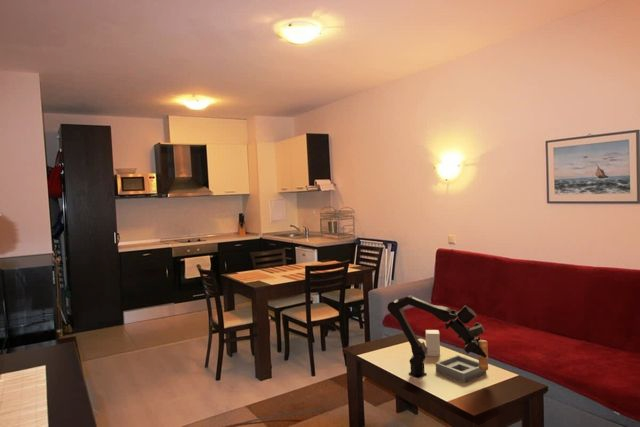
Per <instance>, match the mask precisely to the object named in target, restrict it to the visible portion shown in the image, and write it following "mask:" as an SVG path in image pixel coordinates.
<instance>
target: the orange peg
mask: <svg viewBox="0 0 640 427" xmlns="http://www.w3.org/2000/svg"><path fill="white" fill-rule="evenodd" d="M478 342H479V345H480V347H481V349H482V350H483V351H484V353H485V354H486V355H487V357H482V356H480V355H478V362H479V369H480V370H486V371H488V370H489V350H488V345H489V344H488V341H487V340H484V339H481V340H479V341H478Z"/></svg>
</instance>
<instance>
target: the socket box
mask: <svg viewBox="0 0 640 427" xmlns="http://www.w3.org/2000/svg"><path fill="white" fill-rule="evenodd" d="M435 372H436V373H438V374H440V375H443V376H446V377H447V378H450V379H453V380H455V381H458V382H460V383H463V384H466V383H468V382H469V381H472V380H474V379H477V378H479V377H481V376H484V375H486V374H487V370H480V369H479V361H476V360H474V359H472V358H471V359H470V358H468V357H465V356H462V355H459V354H456V355H454V356H452V357H449V358H447V359H446V358H445V359H443V360H440V361H438V362H437V361H436V362H435Z"/></svg>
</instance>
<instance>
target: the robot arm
mask: <svg viewBox="0 0 640 427" xmlns="http://www.w3.org/2000/svg"><path fill="white" fill-rule="evenodd" d="M407 306H411V307H414V308H417V309H420V310H422V311H423V312H426V313H429V314H431V315H433V317H435V318H436V319H438V320H439V321H441V322H443V323H445V324H444V325H445V330H448V329H449V328H450V329H451V330H452V331H453V332H454V333H455V334H456V335H457V338H458V339H461V340H462V341H463V342H464V345H465V346H464V351H465V353H467V354H469V353H472V354H476V355H478V356H479V355H480V356H482V357H487V355H486V354H485V353H484V351H483V350H482V349H481V347H480V345H479V342H478V341H479V340H482V338H481V336H480V335H483V334H485V328H484V325H483V324H481V323H480V322H475V323H474V326H472V327H470V326H468V325H467V324H469V323H471V321H473V320H474V319H475V318H476V317H477V314H476V313H475V311H474V310H473V309H472V308H470V307H468V306H467V305H464V306H463V307H462V308H461V309H460V310H455V309H451V308H450V307H447V306H443V305H436V304H435V305H434V303H430V302H428V301H426V300H422V299H420V298H417V297H415V296H413V295H412V294H408V295H407V296H404V297H402V298H399V299H397V298H395V299H392V300H391V301H389V303H388V304H387V307H386V308H387V311H388V312H389V314H390V315H391V316H392V317H393V318H394V319H396V320H397V322H398V324H399V326H400V329H401V330H402V332H403V333H404V336H405V338H406V339H407V341H408V343H409V345H410V348H411V353H412V355H411V357H410V359H409V360H408V362H409V364H410V372H408V375H410V376H412V377H414V378H416V379H419V378H422V377H425V376H427V373H426V372H425V362H424V361H425V360H426V358H427V357H428V356H427V354H428V351H427V350H428V348H427V347H426V342H424V341H423V342H421V341H420V340H419V338H418V337H417V334H416V333H415V332H414V330H413V328H412V327H411V325H410V323H409V321H408V319H407V317H406V314H405V310H404V308H405V307H407ZM478 336H479V337H478Z"/></svg>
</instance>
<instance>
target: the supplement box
mask: <svg viewBox="0 0 640 427" xmlns="http://www.w3.org/2000/svg"><path fill="white" fill-rule="evenodd" d="M440 340H441V339H440V330H439V329H425V346H426V347H427V348H428V350H427V351H428V354H427V357H441V343H440V342H441V341H440Z"/></svg>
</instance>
